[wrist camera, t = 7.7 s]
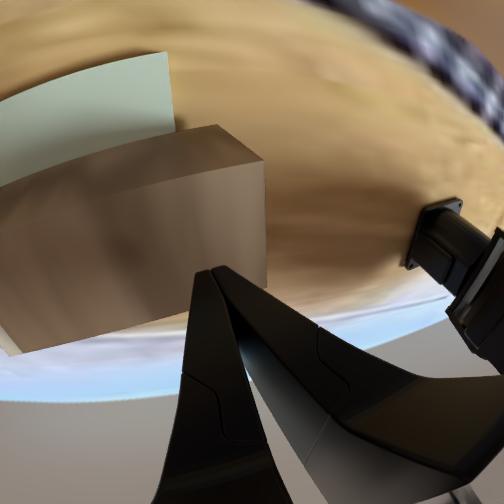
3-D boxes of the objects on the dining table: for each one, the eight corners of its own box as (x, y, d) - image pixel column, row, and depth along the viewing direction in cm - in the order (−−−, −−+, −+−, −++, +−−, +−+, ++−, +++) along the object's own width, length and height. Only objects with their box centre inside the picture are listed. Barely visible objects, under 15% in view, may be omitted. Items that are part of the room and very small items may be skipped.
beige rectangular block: (263, 160, 9) (-60, 259, 6) (267, 287, 12) (9, 356, 9) (217, 124, 12) (-15, 193, 9) (226, 222, 15) (26, 278, 13)
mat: (164, 52, 10) (167, 51, 10) (197, 272, 18) (201, 283, 17) (-53, 131, 8) (-63, 136, 7) (31, 317, 15) (29, 328, 14)
